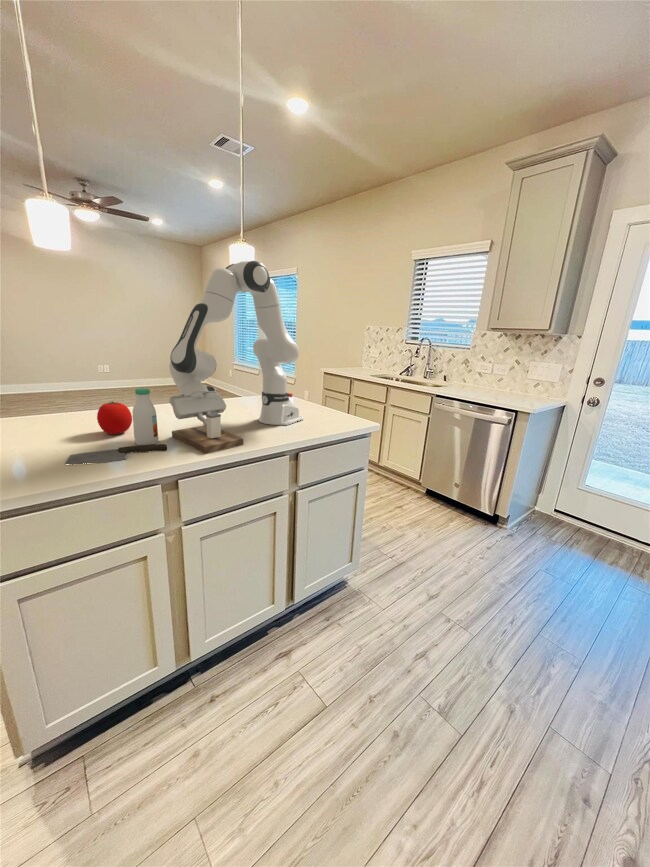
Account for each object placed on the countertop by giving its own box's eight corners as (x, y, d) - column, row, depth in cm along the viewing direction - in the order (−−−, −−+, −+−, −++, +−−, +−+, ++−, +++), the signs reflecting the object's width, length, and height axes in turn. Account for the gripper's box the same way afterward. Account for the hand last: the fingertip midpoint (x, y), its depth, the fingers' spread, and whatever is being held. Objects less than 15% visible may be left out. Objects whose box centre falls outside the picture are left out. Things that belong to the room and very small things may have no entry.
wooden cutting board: (208, 430, 149) (208, 424, 149) (243, 444, 135) (243, 438, 134) (172, 437, 138) (171, 430, 137) (205, 453, 123) (205, 446, 122)
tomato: (111, 428, 144) (107, 397, 140) (139, 430, 144) (136, 399, 140) (90, 437, 132) (86, 404, 128) (121, 439, 132) (117, 406, 128)
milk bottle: (149, 447, 125) (144, 391, 120) (130, 444, 127) (124, 389, 121) (163, 441, 133) (159, 388, 127) (144, 438, 134) (140, 386, 128)
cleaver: (166, 446, 128) (165, 441, 127) (170, 455, 120) (170, 449, 120) (66, 458, 113) (65, 452, 112) (64, 469, 105) (63, 462, 105)
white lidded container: (216, 434, 135) (215, 412, 133) (221, 436, 133) (220, 414, 131) (206, 436, 132) (205, 414, 129) (211, 438, 130) (210, 416, 127)
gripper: (170, 391, 127) (185, 423, 124) (219, 387, 142) (234, 415, 139) (164, 401, 131) (179, 433, 128) (213, 396, 146) (227, 424, 143)
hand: (208, 423), depth 134 cm, fingers closed
